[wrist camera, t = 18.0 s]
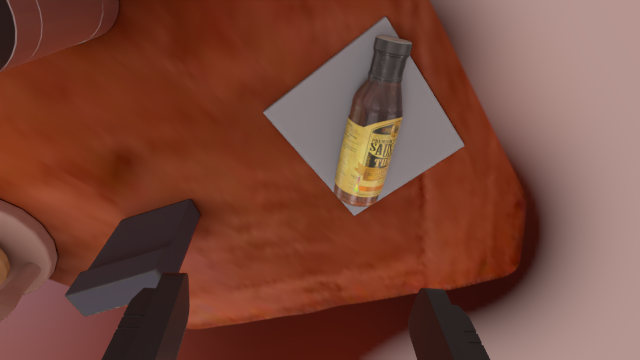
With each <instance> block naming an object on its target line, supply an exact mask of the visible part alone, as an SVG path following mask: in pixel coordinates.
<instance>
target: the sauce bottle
mask: <svg viewBox="0 0 640 360" xmlns="http://www.w3.org/2000/svg"><path fill="white" fill-rule="evenodd" d="M373 48H374V54H373V58H372V63H371V67H370V70H369V72H368V79H367V80H366V81H365V82H364V83H363V84H362V85H361V86H360V88H359V89H358V90H357V92H356V93H355V95H354V97H353V100H352V106H351V110H350V114H349V116H348V120H347V124H346V129H345V134H344V138H343V143H342V147H341V152H340V157H339V161H338V166H337V171H336V175H335V186H334V194H335V195H336V197H337V198H338V199H339V200H340V201H343V202H344V203H346V204H348V205H351V206H357V207H367V206H371V205H373V204H375V203H376V201H377V199H378V197H379V194H380V193H381V192H382V188H383V185H384V181H385V178H386V174H387V171H388V167H389V164H390V160H391V157H392V153H393V150H394V146H395V143H396V139H397V136H398V132H399V129H400V125H401V122H402V118H403V108H402V90H401V82H402V76H403V72H404V68H405V64H406V61H407V58H408V57H409V55H410V52H411V48H412V43H411V42H410V41H407V40H404V39H399V38H394V37H388V36H381V35H379V36H376V38H375V42H374V46H373Z"/></svg>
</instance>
